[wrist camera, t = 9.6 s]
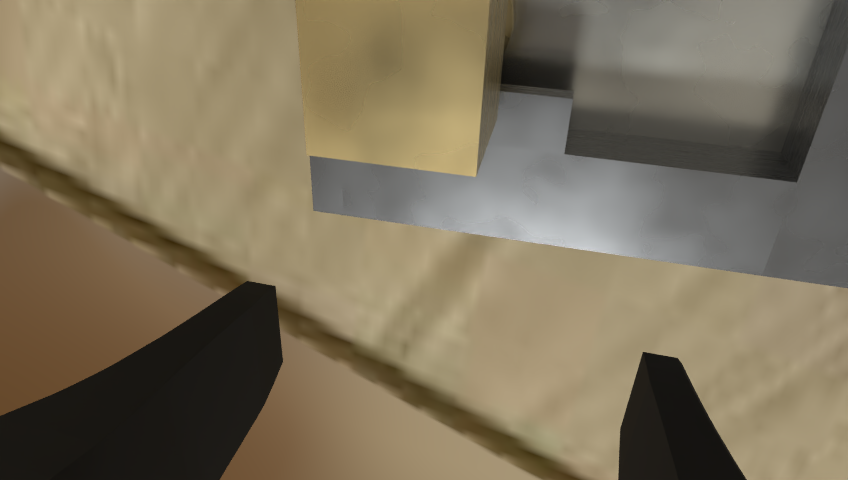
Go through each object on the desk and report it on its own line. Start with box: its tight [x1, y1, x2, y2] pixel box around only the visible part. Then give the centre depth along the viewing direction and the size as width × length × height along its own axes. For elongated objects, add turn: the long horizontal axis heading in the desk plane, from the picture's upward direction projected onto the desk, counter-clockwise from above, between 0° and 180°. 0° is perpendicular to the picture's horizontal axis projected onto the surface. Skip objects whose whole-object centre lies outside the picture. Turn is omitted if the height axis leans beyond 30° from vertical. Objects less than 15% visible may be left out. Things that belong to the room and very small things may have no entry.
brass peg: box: [295, 0, 515, 177], centre depth 17 cm, size 4×4×6 cm
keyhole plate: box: [310, 0, 848, 288], centre depth 17 cm, size 21×12×3 cm, turn 89°
